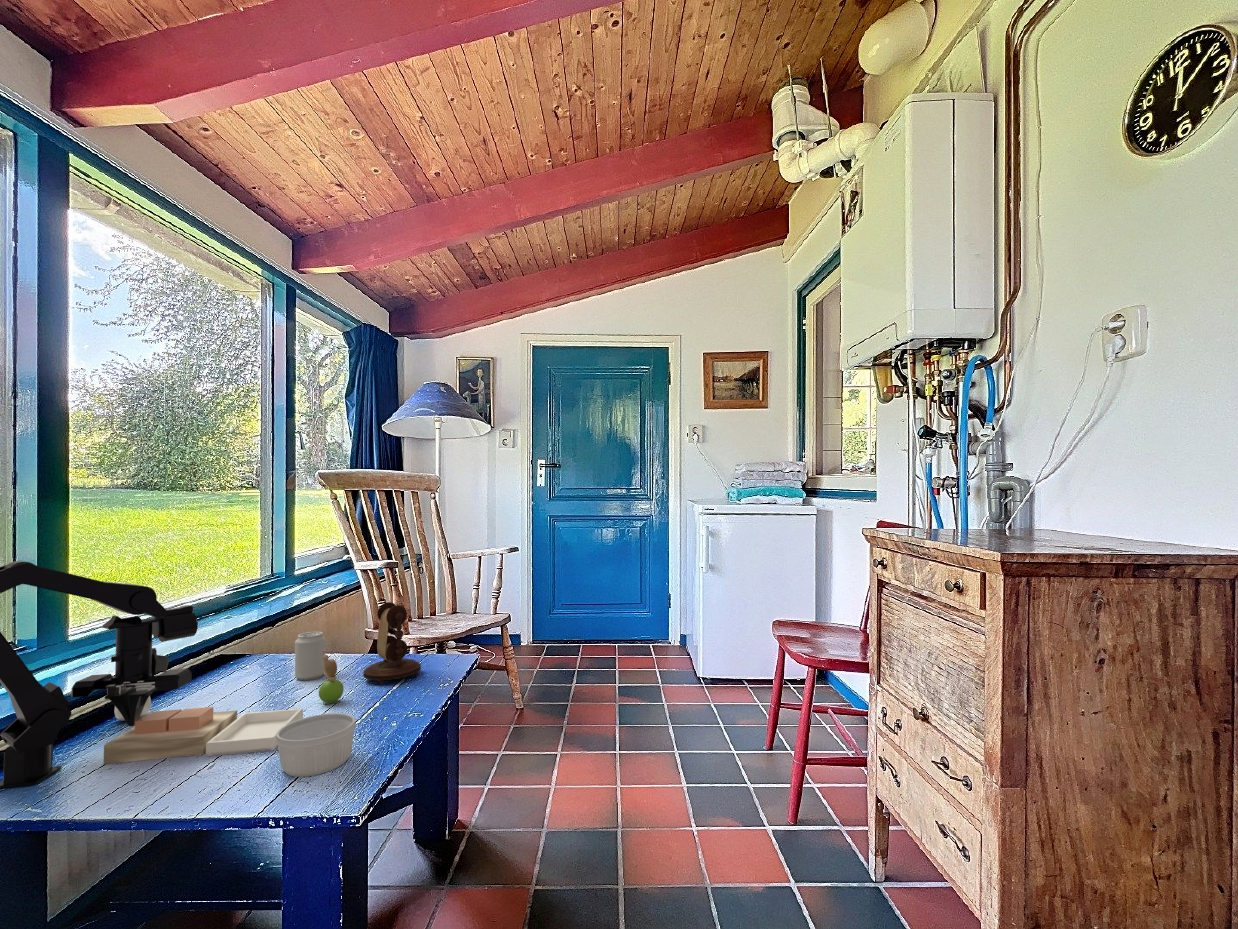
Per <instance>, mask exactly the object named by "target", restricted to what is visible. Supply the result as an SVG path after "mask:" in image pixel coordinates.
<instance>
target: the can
mask: <svg viewBox="0 0 1238 929" xmlns="http://www.w3.org/2000/svg"><path fill="white" fill-rule="evenodd" d="M323 634H324V632H323V631H308V632H302V633H299V634H298V635H297V639H295V642H294V656H295V657H294V678H297V680H300V681H312V680H316V679H319V678H321V677H322V676H323V675H325V672H324V666H323V652H322V651H323V650H324V651H325V650H326V636H324V635H323ZM324 655H326V652H324Z"/></svg>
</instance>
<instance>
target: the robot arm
mask: <svg viewBox="0 0 1238 929" xmlns="http://www.w3.org/2000/svg"><path fill="white" fill-rule="evenodd" d="M22 585H27V586H32V587H36V588H40V589H44V590H48V591H49V590H50V591H54V592H58V593H63V594H67V595H72V596H76V597H80V598H85V599H89V600H92V601H94V602H97V603H99V604H101V605H104V606H105V607H108V608H110V609H113V610H115V611H119V612H121V613H124V614H125V613H126V614H129V615H133V616H129V617H123V618H121V617H120V616H118V615H114V614H113V615H112V616H111V618H110V619H109V620H107V621H106V622H105V623H104V624H102V625H101V626H102V628H103V629H106V630H115V655H112V656H111V657H110V662H111V663H114V664H115V668H114V669H115V670H114V672H115V674H114V675H115V676H113V675H112V674H111V673H103V674H102V673H101V674H92V675H88V676H86V677H84V678H82V679H80V680H77V681H75V682H74V684H73V685H72V687H71V690H70V691H71V694H70V695H71V698H84V697H89V696H91V695H92V694H93V693H94V692H95V691H96V690H107V691H106V692H107V694H106V695H105V696H104V700H109V702H111V703H112V704H113V706H114V707H115V706H116V708H117V709H118V710H119V712H120V713H121V715H122V716H123V718H124V719H125V723H127V726H128V727H135V721H137V720H139V719H140V718H139V717H140V715H141V713H142V710H143V708H144V706H145V703H146V701H147V699H148V698H149V696H150V697H151V694H152V693H153V692H155V691H158V692H161V691H162V692H163V691H174V690H178V689H180V688H181V687H183V686H185V685H187V684H188V683H190V682H192V678H193V677H192V676H193V675H192V674H193V673H192V671H191V670H190V669H189V667H188V668H174V669H168V666H169V660H170V656H166V655H161V654H160V655H159V654H158V653H157V647H153V638H154V639H158V640H159V642H161V643H163V642H165V643H166V642H170V641H173V640H180V639H185V638H190V637H195V635H196V634H197V632H198V627H199V624H198V623H199V621H198V620H197V616H196V613H195V612H194V606H193V605H190V604H185V605H181V606H178V607H172V608H166V607H164V606H163V605H162V604H161V603H160V602H159V601H158V598H157V593H156V591H155V590H154V588H152V587H150V586H147V585H139V584H134V583H125V582H122V583H121V582H112V581H110V582H109V581H100V580H97V579H92V578H88V577H85V576H81V575H77V574H73V573H68V572H66V571H65V572H64V571H60V570H56V569H51V568H49V567H48V568H47V567H44V566H40V565H36V564H34V563H32V562H31V561H30V562H29V561H24V560H16V561H12V562H9V563H7V564H5V565H2V566H0V594H2V593H4V592H7V591H9V590H11V589H13V588H16V587H19V586H22ZM140 615H144V616H148V617H149V616H150V617H149V618H144V619H142V618H141V617H140ZM159 673H160V674H159ZM154 674H155V675H154ZM157 674H158V675H157ZM137 681H143V682H137ZM124 682H130V683H124ZM0 684H1V685H2V687H3V688H4V690H5V691H6V692H7V693H8V695H9V699H10V701H11V705H12V709H13V710H14V714H15V715H16V719H14V721H12V722H11V723H10V724H9V725H8V726H7V727H6V728H5V729H4V730H3V731H2V732H1V733H0V736H1V739H2V741H3V742H4V743H5V745H8V746H7V747H6V749H5V750H4V752H3V777H2V780H1V781H0V789H4V788H14V787H26V786H27V787H28V786H34V785H36V784H38V783H40V782H42V781H43V780H45V779H47V778H48V777H50V776H52V775H53V774H55V773H57V772H58V771H60V770H62V766H61V765H57V766H56V765H55V766H53V765H54V760H53V759H54V744H55V741H56V739H57V737H58V735H59V733H60V730H62V729H63V728H64V727H65V726H66V725H67V724H68V722H70V718H71V716H72V711H71V708H70V706H71V705H73V704H74V703H73V702H72V701H70V700H68V699H67V698H66V697H65V695H64V692H63V690H62V688H61V687H60V686H59V685H57V684H55V683H53V682H51V681H49V682H48V683H47V682H46V684H44V685H42V684H41V683H40V682H39V681H38V680H37V678H36V677H35V675H33V673H32V672H31V670H30V669H29V668H28V666H27V665H26V664H25V662H24V661H23V660H22V658H21V657H20V656H19V654H18V653H17V652H16V651H15V649H14V648H13V646H12V645H11V644H10V642H9V641H8V640H7V638H6V637H5V636H4V635H3V633H2V632H1V631H0Z"/></svg>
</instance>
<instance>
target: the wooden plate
mask: <svg viewBox="0 0 1238 929" xmlns="http://www.w3.org/2000/svg"><path fill="white" fill-rule="evenodd" d="M237 718H238V710H227V711H226V710H225V711H216V712H215V711H213V719H212V720H211V721H210V722H208V723H207V724H206V725H204V726H203V727H201V728H200V729H195V730H183V731H171V732H169V730H168V731H167V732H159V733H147V734H135V726H132V727H131V728H130V729H128V730H126V731H125V732H123V733H121V734H120V735H118V736H116V737H115V738H113V739H111V740H110V741H108V742H106V743H104V745H103V764H104V765H105V764H115V763H125V762H137V761H149V760H157V759H158V760H159V759H168V758H170V759H171V758H182V757H191V756H192V755H194V756H203V755H204V754H206V743H207V742H208V741H210V740H211V739H212V738H213V737H215V736H216V735H217V734H218V733H220V732H221V731H222V730H223V729H225V728H226V727H227V726H229V725H230V724H231V723H232V722H234V721H235V720H236V719H237ZM199 754H201V755H199ZM202 754H203V755H202Z"/></svg>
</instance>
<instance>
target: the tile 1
mask: <svg viewBox="0 0 1238 929" xmlns="http://www.w3.org/2000/svg"><path fill="white" fill-rule="evenodd" d="M182 710H183V709H181V708H180V709H170V710H169V709H168V710H167V709H166V710H154V711H150V712H149V713H148V714H147V715H146V716H144V717H141V718H139V720H137V721H135V726H134V727H135V734H147V733H159V732H167V731H168V730H169V719H170V718H171V717H173V716H174V715H176V714H177V713H179V712H181V711H182Z"/></svg>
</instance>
